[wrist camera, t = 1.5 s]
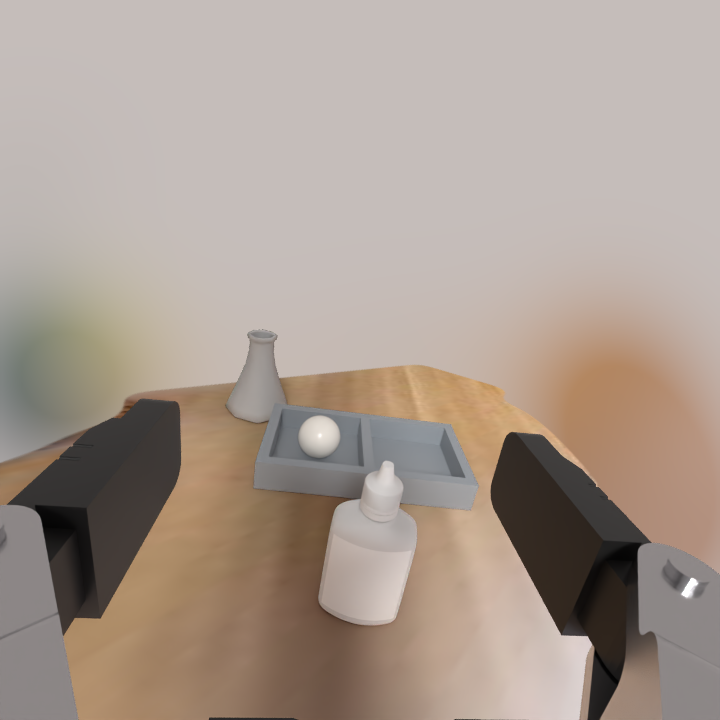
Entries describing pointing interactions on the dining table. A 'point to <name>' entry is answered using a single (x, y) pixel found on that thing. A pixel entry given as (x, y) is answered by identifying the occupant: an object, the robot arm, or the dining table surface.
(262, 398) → the flask
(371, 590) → the eye dropper bottle
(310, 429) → the ceramic egg
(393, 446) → the holder
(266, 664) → the dining table surface
